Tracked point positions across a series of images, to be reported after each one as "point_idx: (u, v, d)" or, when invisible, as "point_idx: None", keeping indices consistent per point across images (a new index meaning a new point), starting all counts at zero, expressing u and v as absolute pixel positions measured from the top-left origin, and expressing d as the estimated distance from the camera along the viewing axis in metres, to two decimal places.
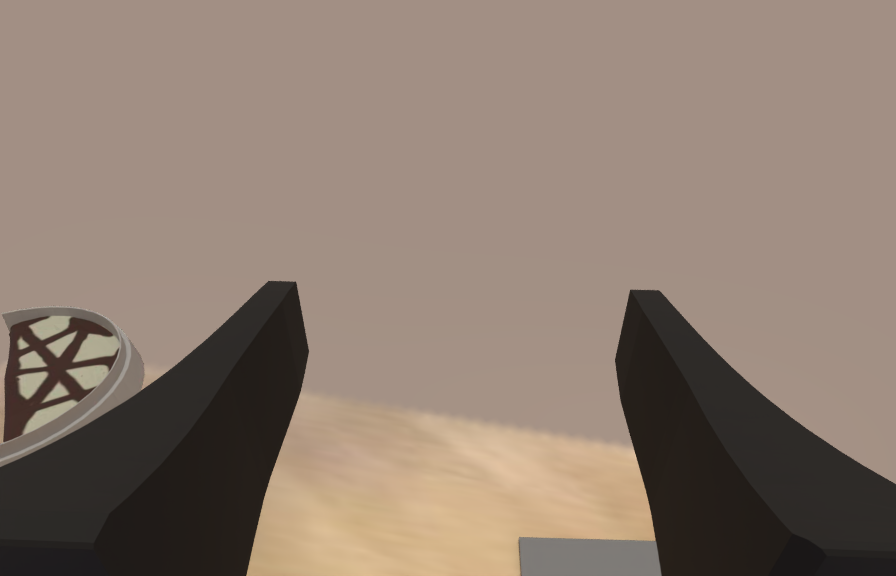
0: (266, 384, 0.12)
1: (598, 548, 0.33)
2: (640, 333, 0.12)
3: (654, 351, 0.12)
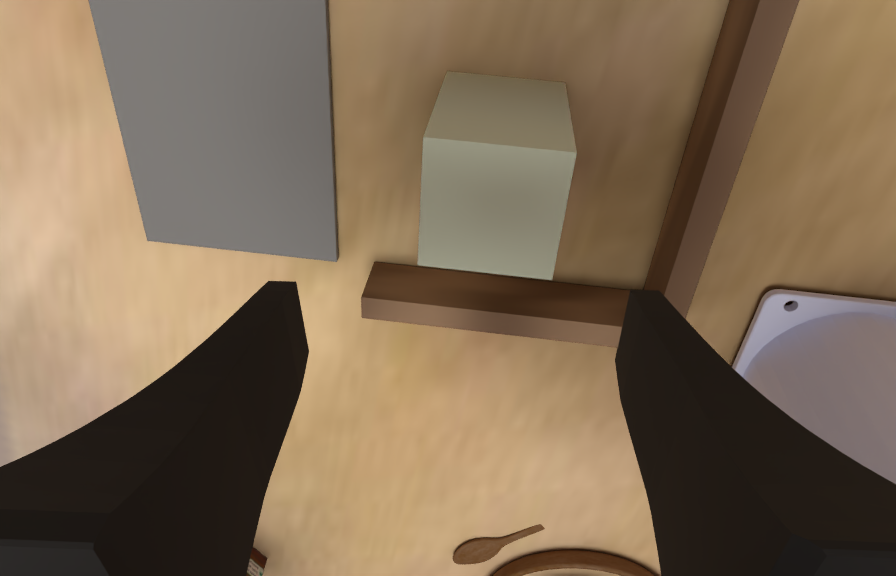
0: (266, 384, 0.12)
1: (138, 148, 0.24)
2: (640, 333, 0.12)
3: (654, 351, 0.12)
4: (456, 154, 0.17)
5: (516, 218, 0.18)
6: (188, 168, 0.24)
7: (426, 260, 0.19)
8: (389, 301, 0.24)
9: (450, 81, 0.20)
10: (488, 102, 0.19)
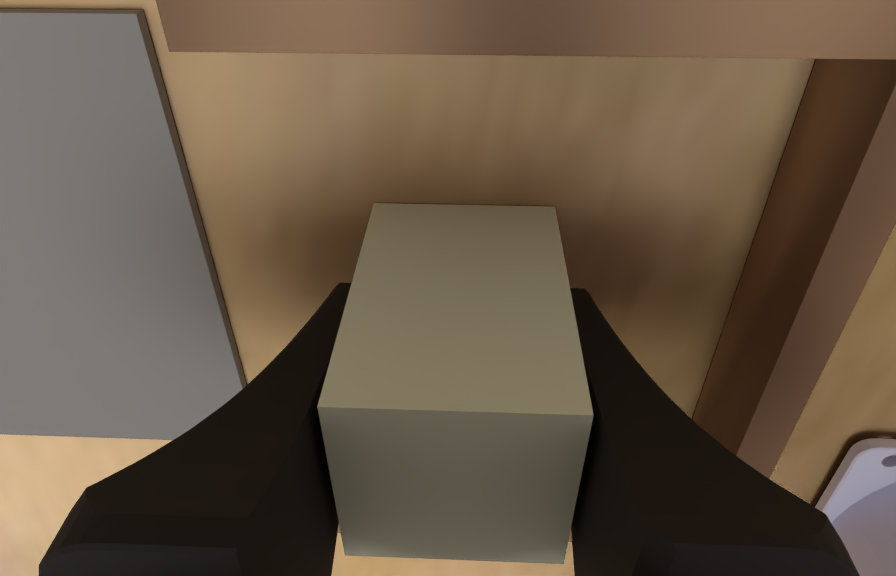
0: None
1: None
2: None
3: None
4: (380, 425, 0.09)
5: (496, 499, 0.10)
6: (25, 350, 0.17)
7: (357, 549, 0.11)
8: None
9: (376, 229, 0.13)
10: (436, 278, 0.12)
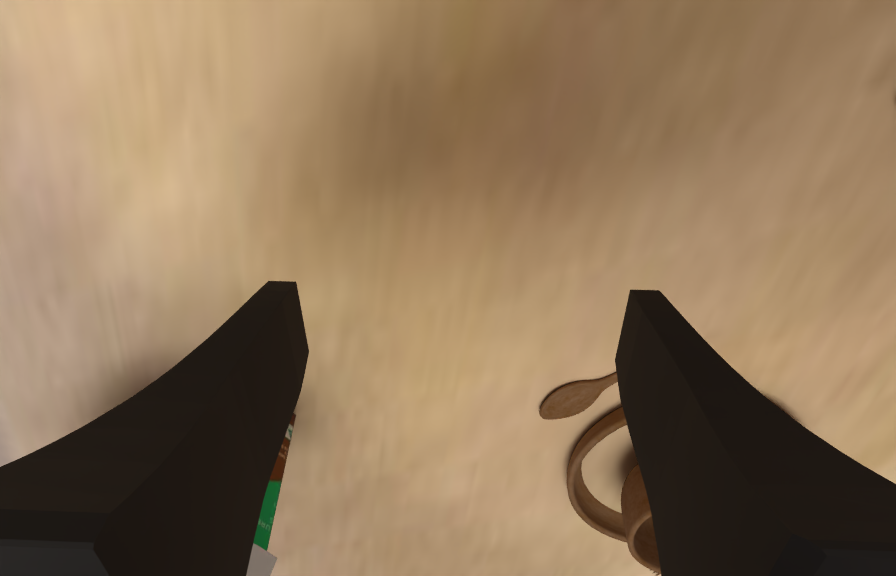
0: (267, 384, 0.12)
1: None
2: (640, 333, 0.12)
3: (654, 351, 0.12)
4: None
5: None
6: None
7: None
8: None
9: None
10: None
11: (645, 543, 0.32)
